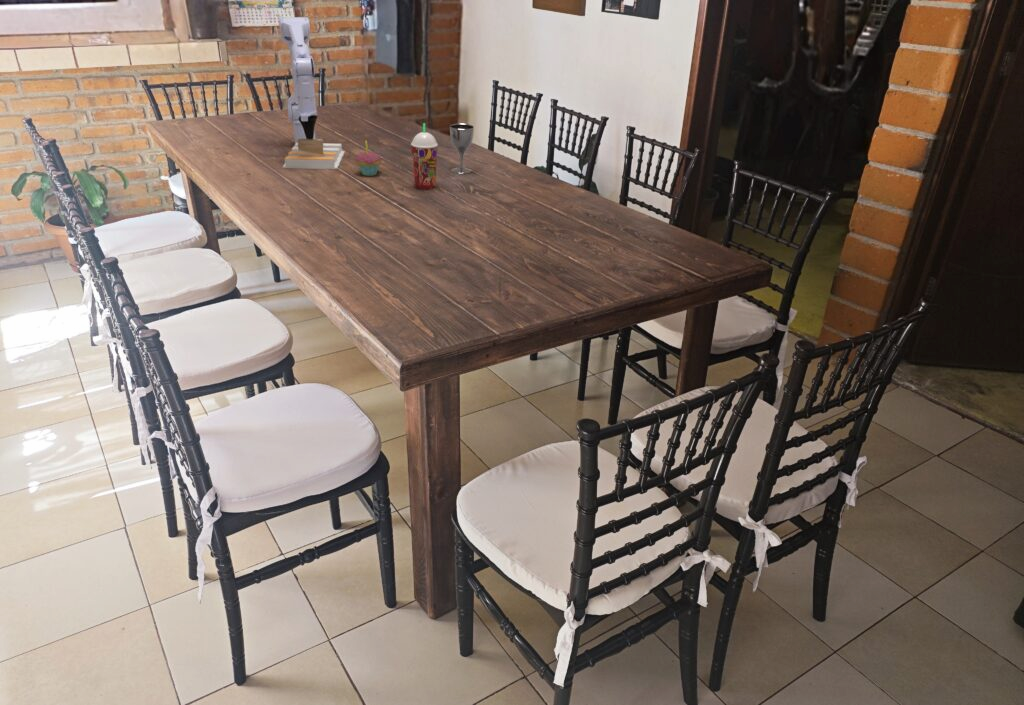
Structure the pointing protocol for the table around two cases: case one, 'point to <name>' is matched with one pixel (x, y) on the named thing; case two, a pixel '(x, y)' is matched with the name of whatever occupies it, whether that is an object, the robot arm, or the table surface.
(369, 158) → the cupcake
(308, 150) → the block
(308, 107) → the robot arm
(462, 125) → the wine glass
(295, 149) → the rack
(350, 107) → the table surface
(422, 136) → the smoothie
